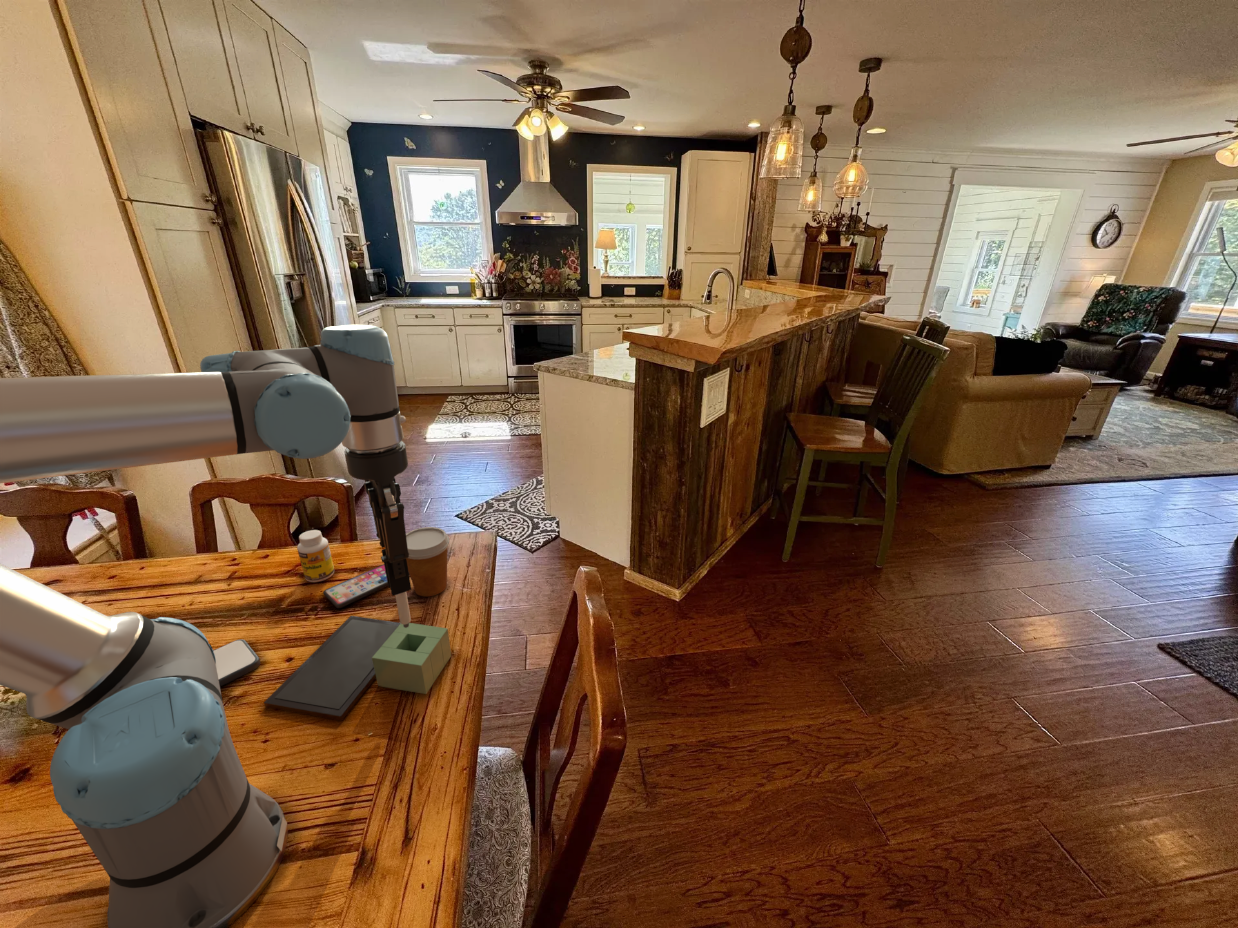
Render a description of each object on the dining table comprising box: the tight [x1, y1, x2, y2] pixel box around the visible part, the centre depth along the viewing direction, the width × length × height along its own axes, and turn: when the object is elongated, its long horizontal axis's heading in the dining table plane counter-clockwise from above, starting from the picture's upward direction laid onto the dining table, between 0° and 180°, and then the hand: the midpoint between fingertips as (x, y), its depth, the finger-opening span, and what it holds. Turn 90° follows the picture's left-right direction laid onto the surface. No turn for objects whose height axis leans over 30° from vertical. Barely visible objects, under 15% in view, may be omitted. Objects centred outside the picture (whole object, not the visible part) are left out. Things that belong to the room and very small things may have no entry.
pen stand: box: [372, 622, 452, 695], centre depth 81 cm, size 8×8×6 cm
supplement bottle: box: [296, 529, 335, 583], centre depth 103 cm, size 6×6×10 cm
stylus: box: [394, 591, 412, 628], centre depth 75 cm, size 2×2×15 cm
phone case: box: [213, 638, 261, 688], centre depth 79 cm, size 9×2×16 cm
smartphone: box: [323, 563, 410, 609], centre depth 102 cm, size 8×1×15 cm
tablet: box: [263, 615, 401, 722], centre depth 83 cm, size 20×13×1 cm, turn 170°
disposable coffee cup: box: [406, 526, 450, 597], centre depth 100 cm, size 10×10×12 cm
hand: (399, 587), depth 75 cm, fingers closed on stylus, 1 cm apart
